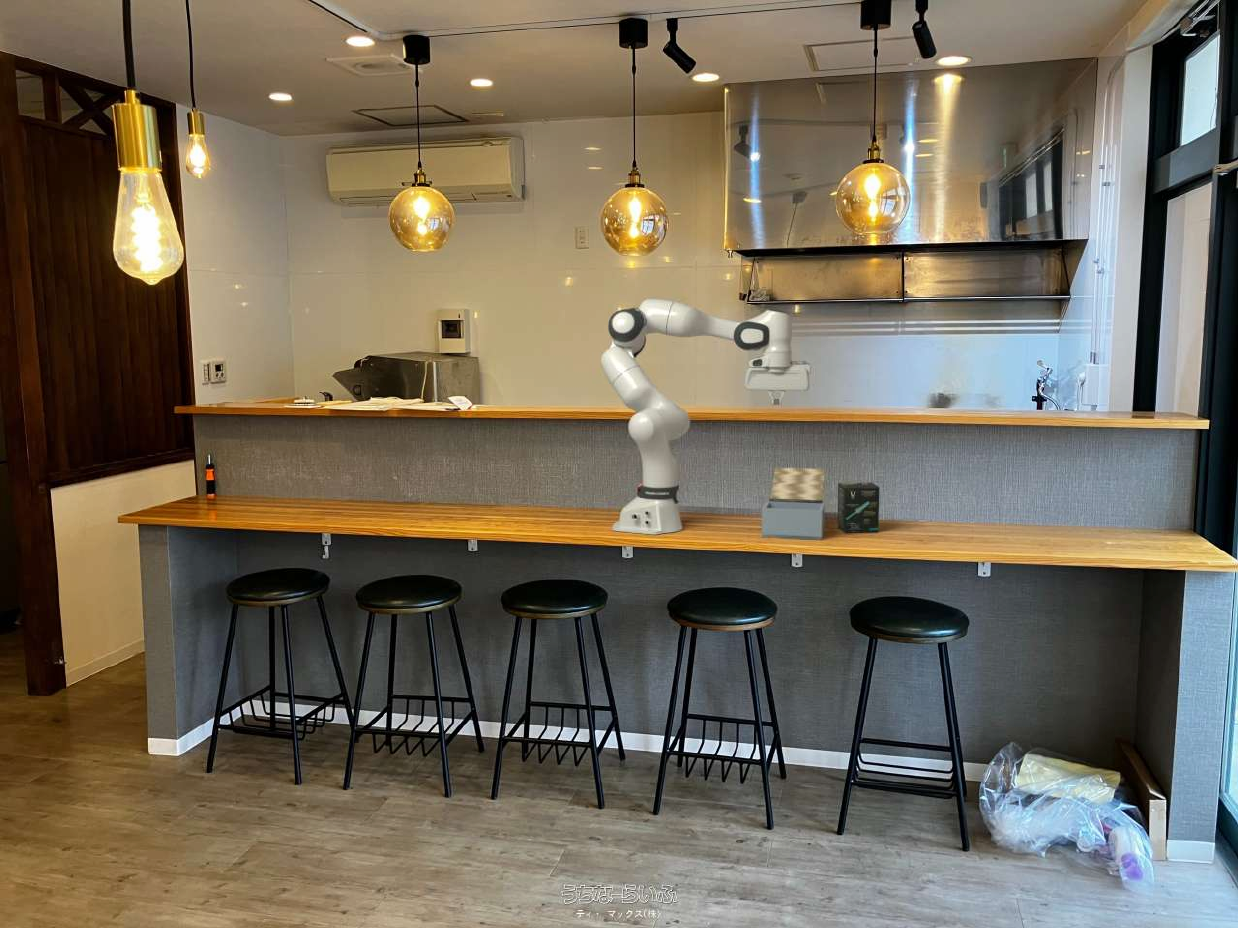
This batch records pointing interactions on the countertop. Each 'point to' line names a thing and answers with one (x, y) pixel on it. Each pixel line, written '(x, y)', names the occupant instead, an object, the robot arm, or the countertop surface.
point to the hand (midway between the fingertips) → (776, 404)
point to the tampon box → (858, 507)
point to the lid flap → (798, 485)
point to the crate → (793, 520)
